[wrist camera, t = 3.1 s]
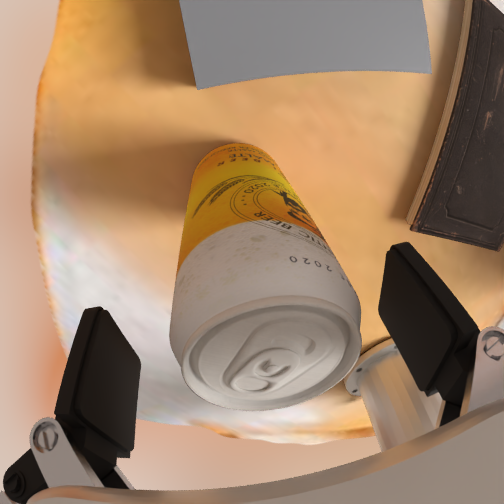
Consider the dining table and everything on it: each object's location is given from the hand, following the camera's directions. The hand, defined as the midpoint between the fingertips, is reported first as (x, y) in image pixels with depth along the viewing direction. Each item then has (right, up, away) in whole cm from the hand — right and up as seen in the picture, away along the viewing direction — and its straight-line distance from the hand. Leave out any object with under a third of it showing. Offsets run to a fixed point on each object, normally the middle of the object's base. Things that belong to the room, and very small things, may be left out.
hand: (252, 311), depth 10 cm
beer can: (-1, +7, +11) cm, 13 cm away
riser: (+3, +19, +3) cm, 20 cm away
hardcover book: (+23, +14, +11) cm, 29 cm away
